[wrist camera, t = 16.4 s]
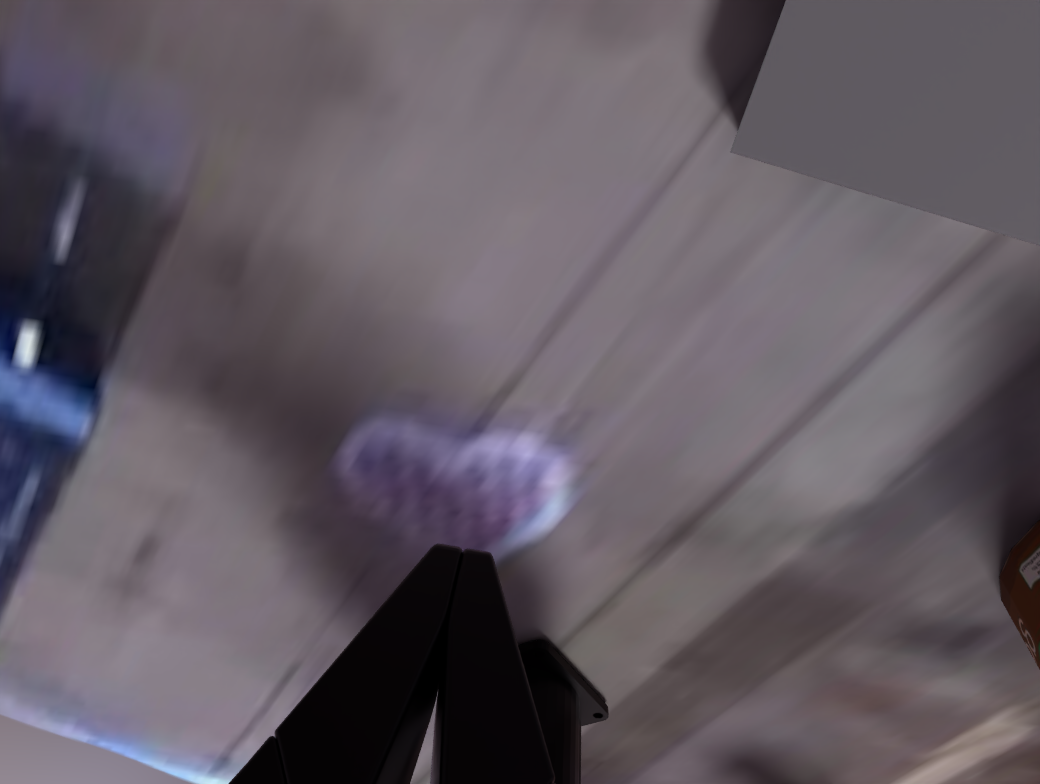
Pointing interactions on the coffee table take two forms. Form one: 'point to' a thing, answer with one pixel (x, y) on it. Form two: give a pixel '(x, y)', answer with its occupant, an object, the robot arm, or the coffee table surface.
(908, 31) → the slate domino
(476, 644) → the robot arm
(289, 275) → the coffee table surface
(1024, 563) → the food container
